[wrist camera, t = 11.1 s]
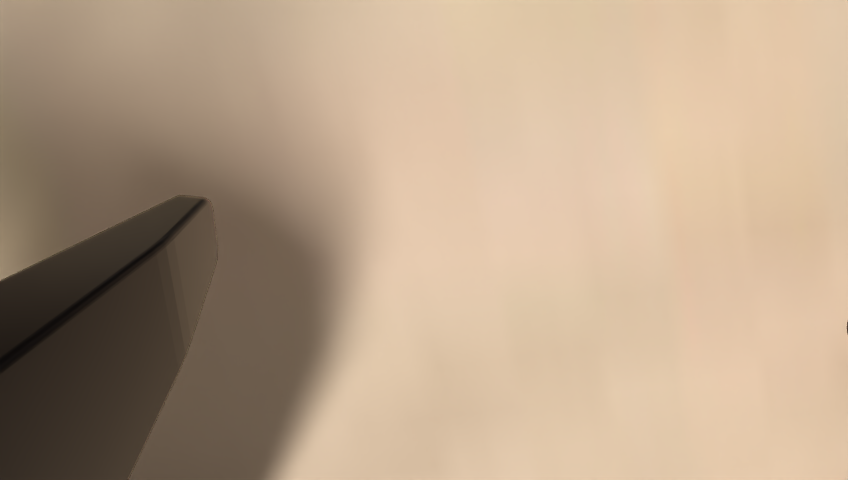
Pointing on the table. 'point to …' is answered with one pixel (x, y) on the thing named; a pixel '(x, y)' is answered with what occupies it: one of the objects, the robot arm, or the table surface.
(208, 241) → the robot arm
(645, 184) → the table surface
